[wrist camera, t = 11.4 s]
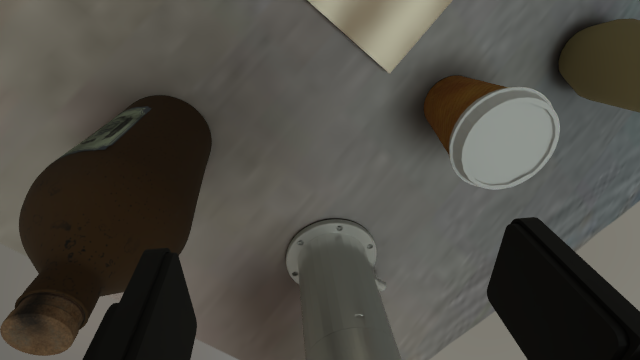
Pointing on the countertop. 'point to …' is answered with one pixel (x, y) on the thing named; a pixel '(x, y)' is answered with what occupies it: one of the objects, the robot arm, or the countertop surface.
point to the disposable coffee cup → (492, 130)
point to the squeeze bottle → (605, 63)
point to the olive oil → (106, 216)
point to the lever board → (383, 24)
